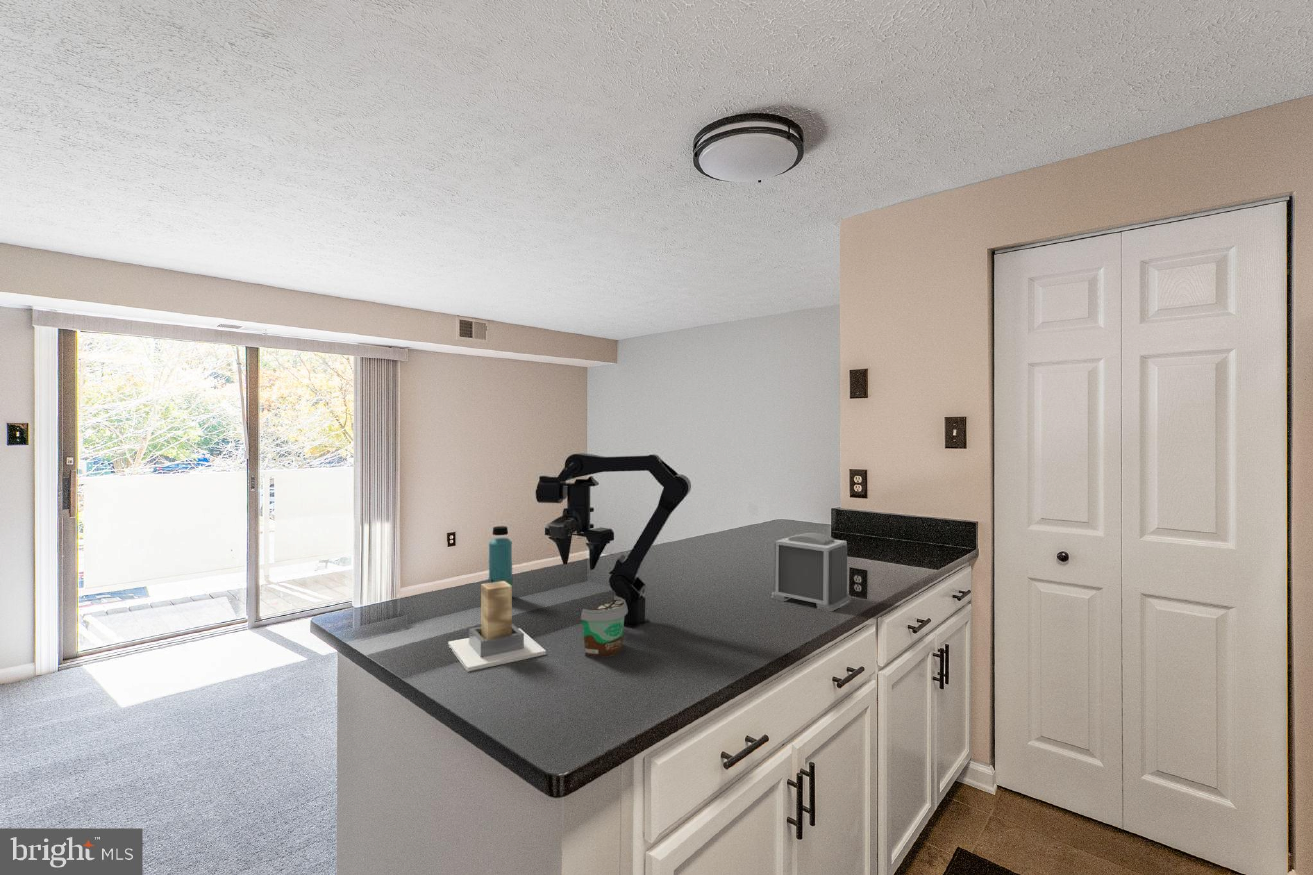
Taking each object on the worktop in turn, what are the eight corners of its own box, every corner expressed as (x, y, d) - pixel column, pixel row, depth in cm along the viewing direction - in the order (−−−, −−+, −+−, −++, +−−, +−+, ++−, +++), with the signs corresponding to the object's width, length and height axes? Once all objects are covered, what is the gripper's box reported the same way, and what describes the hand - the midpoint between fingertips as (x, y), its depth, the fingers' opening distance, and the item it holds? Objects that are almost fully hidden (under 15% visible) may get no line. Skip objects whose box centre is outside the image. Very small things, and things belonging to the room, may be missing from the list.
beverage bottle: (517, 596, 161) (517, 525, 161) (501, 602, 155) (501, 529, 155) (499, 593, 164) (499, 523, 163) (482, 599, 158) (483, 527, 157)
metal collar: (509, 635, 128) (509, 621, 127) (523, 648, 120) (523, 633, 120) (468, 643, 123) (468, 628, 123) (480, 657, 115) (480, 641, 115)
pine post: (504, 640, 125) (504, 580, 125) (511, 647, 121) (511, 586, 120) (481, 644, 122) (481, 584, 122) (487, 652, 118) (488, 589, 118)
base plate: (519, 631, 132) (519, 628, 132) (545, 654, 119) (545, 650, 119) (448, 645, 124) (448, 641, 124) (467, 671, 110) (467, 667, 110)
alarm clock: (852, 601, 158) (852, 535, 158) (832, 612, 148) (833, 542, 148) (791, 589, 170) (792, 527, 170) (769, 598, 160) (770, 533, 160)
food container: (604, 664, 114) (604, 614, 114) (580, 658, 117) (580, 609, 117) (638, 645, 124) (639, 599, 124) (615, 639, 128) (616, 595, 128)
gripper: (528, 504, 140) (528, 567, 140) (583, 510, 129) (583, 579, 129) (561, 500, 149) (560, 559, 149) (615, 505, 138) (615, 570, 138)
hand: (578, 566), depth 141 cm, fingers open, 9 cm apart
